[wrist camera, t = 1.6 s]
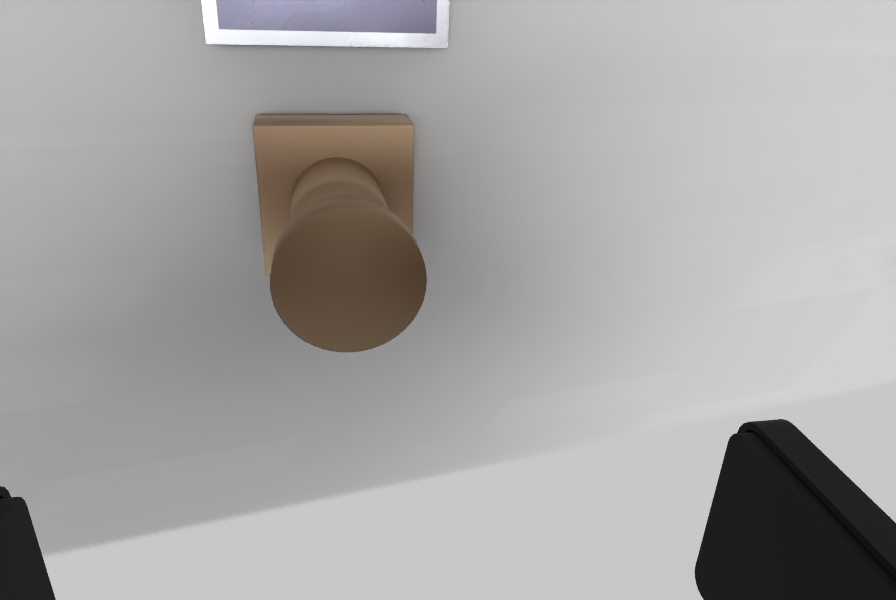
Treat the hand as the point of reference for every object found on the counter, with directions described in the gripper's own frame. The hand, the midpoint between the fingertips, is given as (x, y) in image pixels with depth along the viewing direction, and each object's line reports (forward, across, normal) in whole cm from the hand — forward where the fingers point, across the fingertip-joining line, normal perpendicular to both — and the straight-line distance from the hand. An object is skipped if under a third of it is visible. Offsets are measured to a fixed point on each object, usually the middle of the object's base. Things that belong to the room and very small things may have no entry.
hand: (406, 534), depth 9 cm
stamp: (+18, 0, 0) cm, 18 cm away
